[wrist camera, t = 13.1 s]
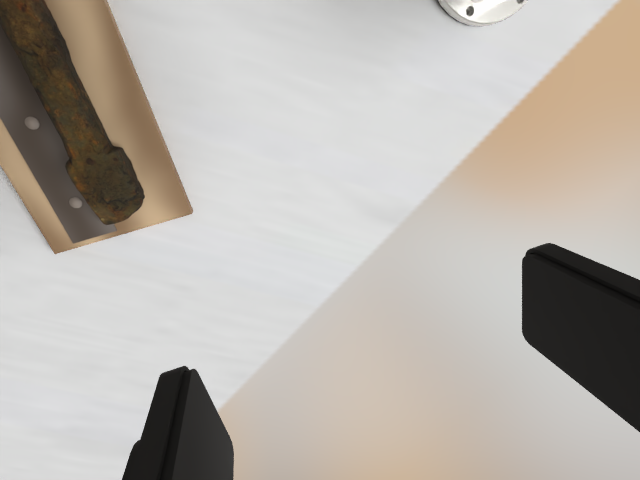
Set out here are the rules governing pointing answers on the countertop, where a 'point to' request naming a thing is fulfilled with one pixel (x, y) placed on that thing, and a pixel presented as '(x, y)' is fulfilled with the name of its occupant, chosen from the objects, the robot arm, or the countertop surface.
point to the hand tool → (71, 112)
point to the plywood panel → (118, 121)
